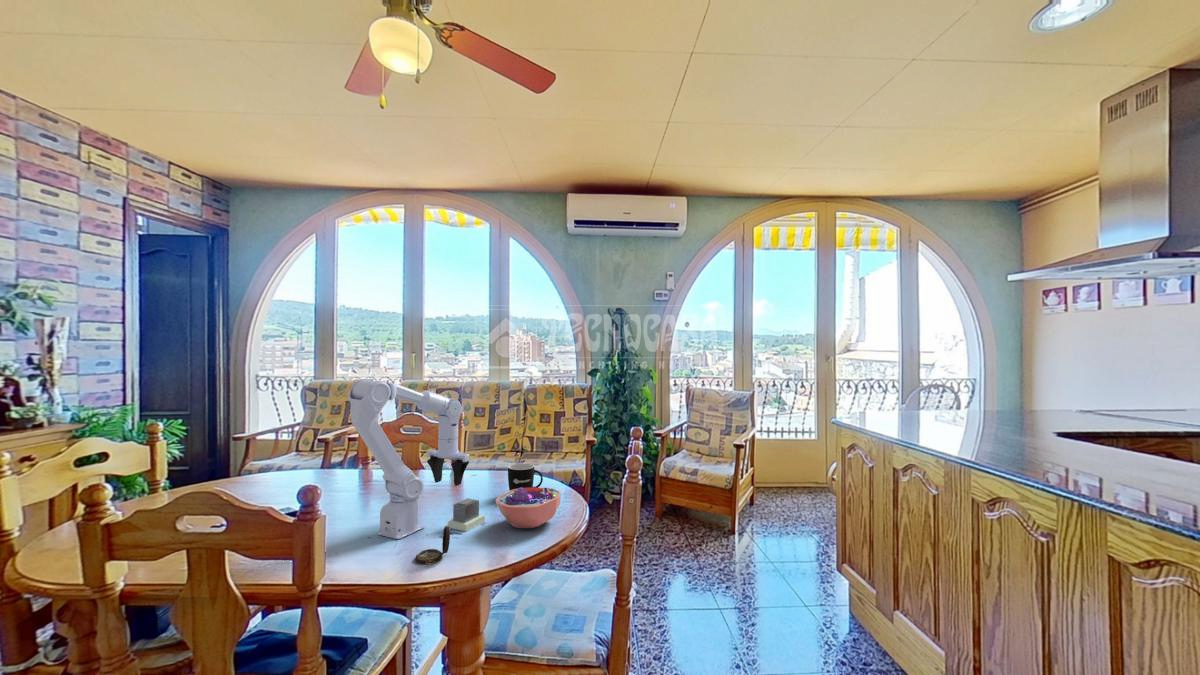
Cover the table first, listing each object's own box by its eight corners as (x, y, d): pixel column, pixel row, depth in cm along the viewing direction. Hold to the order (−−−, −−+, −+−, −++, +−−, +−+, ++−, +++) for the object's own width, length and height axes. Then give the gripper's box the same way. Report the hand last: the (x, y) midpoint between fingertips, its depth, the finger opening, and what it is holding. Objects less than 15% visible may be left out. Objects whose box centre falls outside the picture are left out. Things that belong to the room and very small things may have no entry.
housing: (464, 523, 136) (465, 505, 136) (453, 520, 138) (453, 503, 138) (478, 516, 141) (478, 499, 141) (467, 514, 143) (467, 497, 143)
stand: (466, 531, 134) (466, 524, 135) (448, 527, 137) (448, 520, 137) (484, 521, 142) (484, 515, 142) (466, 518, 144) (466, 512, 145)
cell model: (574, 522, 142) (575, 483, 142) (520, 543, 127) (521, 499, 127) (537, 509, 153) (537, 473, 153) (483, 526, 138) (483, 486, 138)
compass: (414, 556, 119) (414, 526, 119) (448, 551, 122) (448, 521, 122) (415, 570, 112) (416, 538, 112) (451, 564, 115) (451, 533, 115)
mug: (508, 501, 161) (508, 470, 161) (506, 493, 170) (506, 463, 170) (544, 498, 164) (544, 468, 164) (540, 490, 173) (541, 462, 173)
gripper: (476, 437, 147) (475, 482, 147) (439, 433, 153) (438, 477, 153) (460, 442, 141) (459, 488, 141) (422, 437, 147) (422, 482, 147)
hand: (447, 483), depth 146 cm, fingers open, 7 cm apart
